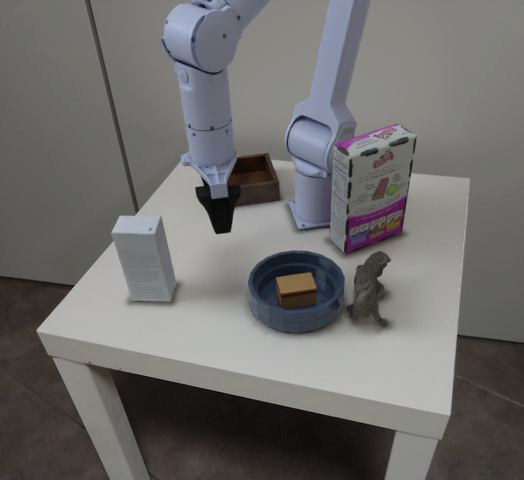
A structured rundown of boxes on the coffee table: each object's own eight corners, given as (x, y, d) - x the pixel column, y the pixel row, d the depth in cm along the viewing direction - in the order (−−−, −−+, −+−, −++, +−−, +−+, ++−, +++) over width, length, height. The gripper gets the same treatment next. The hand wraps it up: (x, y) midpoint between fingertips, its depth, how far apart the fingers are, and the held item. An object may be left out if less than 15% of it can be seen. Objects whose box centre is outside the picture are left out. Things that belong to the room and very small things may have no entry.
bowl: (329, 266, 82) (330, 244, 80) (354, 326, 74) (356, 304, 71) (243, 278, 81) (241, 257, 78) (258, 341, 73) (256, 320, 70)
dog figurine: (386, 335, 72) (393, 293, 67) (342, 329, 73) (346, 287, 68) (393, 277, 80) (400, 236, 74) (354, 273, 81) (358, 231, 76)
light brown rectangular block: (310, 288, 79) (311, 271, 76) (316, 304, 76) (317, 288, 74) (276, 293, 78) (275, 277, 76) (281, 309, 76) (280, 293, 74)
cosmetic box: (177, 283, 81) (163, 215, 72) (171, 302, 78) (155, 234, 70) (138, 282, 82) (119, 214, 73) (130, 301, 79) (109, 233, 70)
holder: (268, 169, 102) (268, 152, 100) (279, 200, 95) (279, 182, 93) (207, 177, 101) (205, 160, 99) (214, 209, 94) (212, 191, 92)
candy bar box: (384, 218, 90) (398, 121, 78) (402, 233, 87) (420, 135, 75) (326, 239, 87) (331, 141, 75) (344, 256, 84) (352, 156, 72)
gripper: (172, 99, 70) (187, 192, 80) (178, 153, 61) (195, 251, 71) (226, 92, 71) (234, 186, 81) (241, 145, 61) (248, 244, 71)
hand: (219, 216), depth 76 cm, fingers open, 7 cm apart
